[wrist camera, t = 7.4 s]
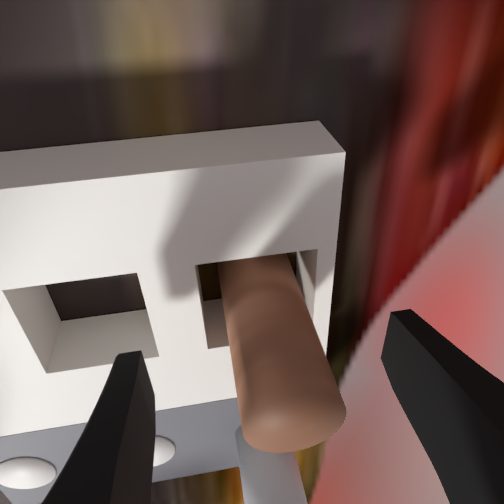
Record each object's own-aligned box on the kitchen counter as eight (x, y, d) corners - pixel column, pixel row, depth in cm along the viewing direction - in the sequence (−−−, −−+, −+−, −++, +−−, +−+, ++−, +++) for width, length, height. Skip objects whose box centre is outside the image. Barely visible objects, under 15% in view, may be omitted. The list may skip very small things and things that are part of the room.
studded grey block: (24, 477, 22) (-20, 640, 17) (-26, 411, 18) (-102, 593, 13) (284, 431, 24) (317, 568, 18) (285, 362, 20) (326, 508, 15)
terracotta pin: (219, 286, 17) (245, 460, 11) (212, 231, 15) (239, 401, 9) (284, 277, 17) (341, 442, 11) (284, 222, 15) (351, 382, 10)
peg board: (-67, 394, 17) (-98, 452, 15) (-249, 176, 12) (-335, 225, 10) (307, 337, 19) (323, 383, 17) (318, 120, 13) (345, 152, 11)
